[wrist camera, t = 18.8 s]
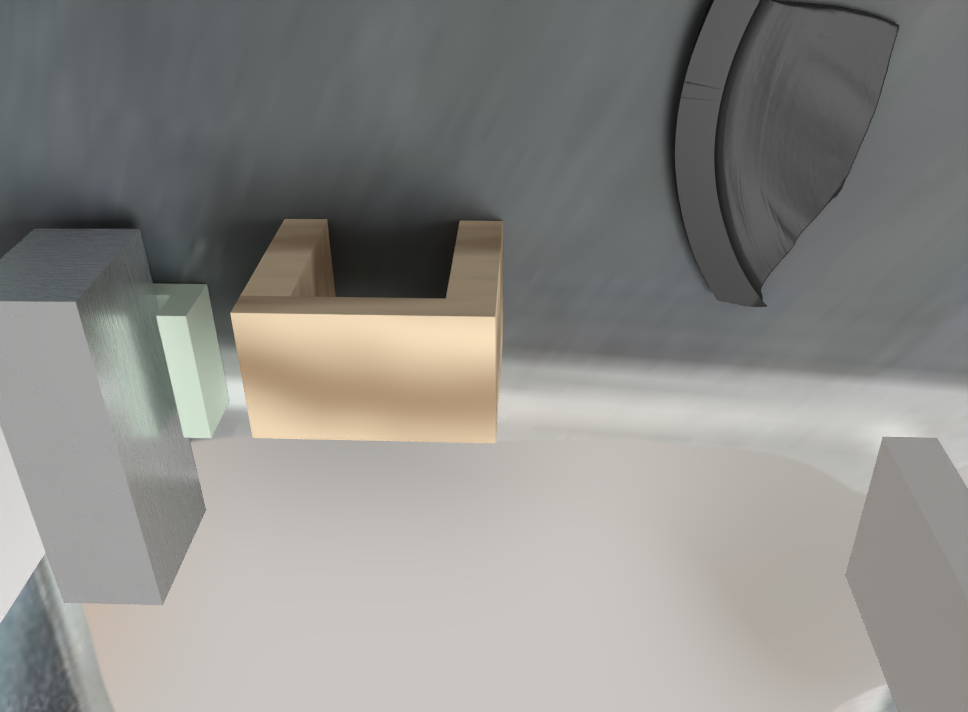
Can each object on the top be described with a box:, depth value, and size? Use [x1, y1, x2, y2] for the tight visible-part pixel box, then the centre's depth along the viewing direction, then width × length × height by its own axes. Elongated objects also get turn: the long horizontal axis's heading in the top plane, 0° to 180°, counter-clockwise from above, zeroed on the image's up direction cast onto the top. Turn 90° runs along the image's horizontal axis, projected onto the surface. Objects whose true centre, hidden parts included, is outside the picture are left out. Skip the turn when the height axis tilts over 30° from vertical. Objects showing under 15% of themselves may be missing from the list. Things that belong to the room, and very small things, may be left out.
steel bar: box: [0, 229, 206, 605], centre depth 44 cm, size 17×5×7 cm, turn 1°
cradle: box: [153, 283, 229, 438], centre depth 46 cm, size 7×9×3 cm
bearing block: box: [230, 219, 503, 443], centre depth 41 cm, size 6×10×9 cm, turn 91°
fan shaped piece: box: [675, 0, 899, 307], centre depth 40 cm, size 8×14×2 cm, turn 170°
